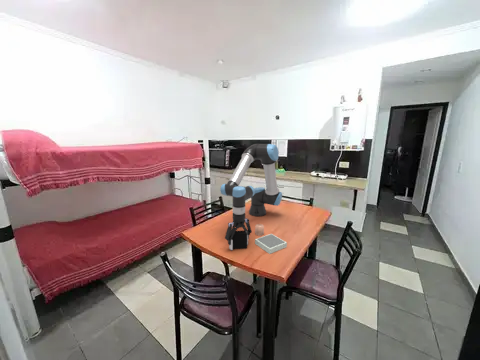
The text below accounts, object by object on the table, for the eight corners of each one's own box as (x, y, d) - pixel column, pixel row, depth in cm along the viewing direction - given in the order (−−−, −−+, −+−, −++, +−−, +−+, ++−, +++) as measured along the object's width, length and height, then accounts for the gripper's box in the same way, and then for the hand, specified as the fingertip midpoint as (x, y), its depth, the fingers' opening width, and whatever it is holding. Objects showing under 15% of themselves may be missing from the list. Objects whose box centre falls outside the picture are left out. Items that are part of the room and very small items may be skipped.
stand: (254, 243, 128) (255, 238, 127) (271, 237, 136) (271, 233, 135) (269, 254, 117) (269, 248, 116) (286, 247, 124) (286, 242, 123)
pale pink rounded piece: (253, 233, 142) (253, 225, 141) (259, 231, 145) (260, 223, 144) (258, 236, 137) (258, 228, 136) (265, 234, 140) (265, 226, 139)
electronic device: (230, 245, 125) (230, 230, 123) (246, 245, 126) (246, 230, 124) (230, 249, 121) (230, 234, 119) (247, 248, 122) (247, 233, 120)
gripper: (225, 218, 110) (225, 255, 114) (258, 210, 122) (257, 243, 127) (218, 214, 116) (219, 249, 120) (250, 207, 128) (250, 238, 133)
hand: (238, 246), depth 123 cm, fingers closed on electronic device, 11 cm apart
